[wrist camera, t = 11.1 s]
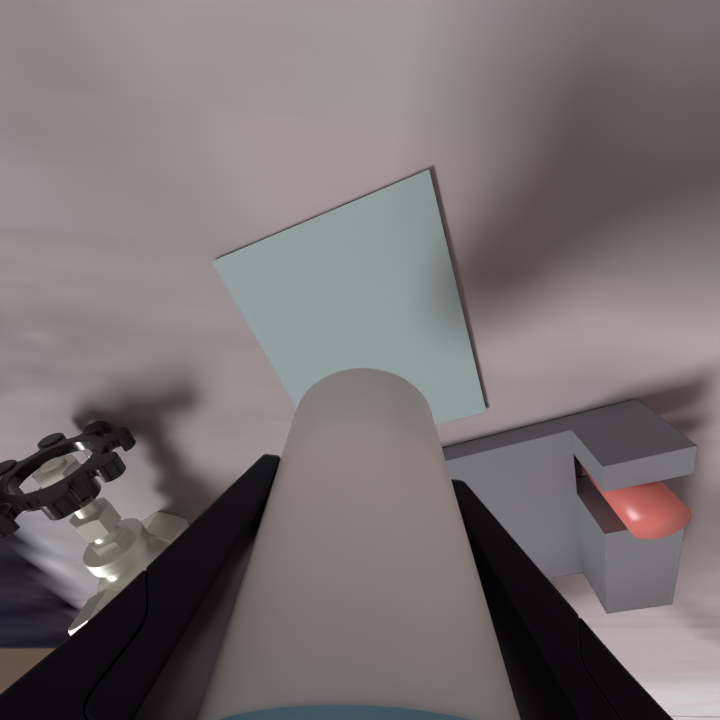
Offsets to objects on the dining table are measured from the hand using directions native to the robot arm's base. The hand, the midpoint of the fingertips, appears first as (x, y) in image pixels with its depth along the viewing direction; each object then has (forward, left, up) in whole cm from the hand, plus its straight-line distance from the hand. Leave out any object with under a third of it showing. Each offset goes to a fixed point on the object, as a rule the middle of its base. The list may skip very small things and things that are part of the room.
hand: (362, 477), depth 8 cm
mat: (0, 0, -8) cm, 8 cm away
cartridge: (0, 0, -2) cm, 2 cm away
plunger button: (-11, -10, -8) cm, 17 cm away
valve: (-5, +17, -9) cm, 20 cm away
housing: (-15, -3, -8) cm, 17 cm away
